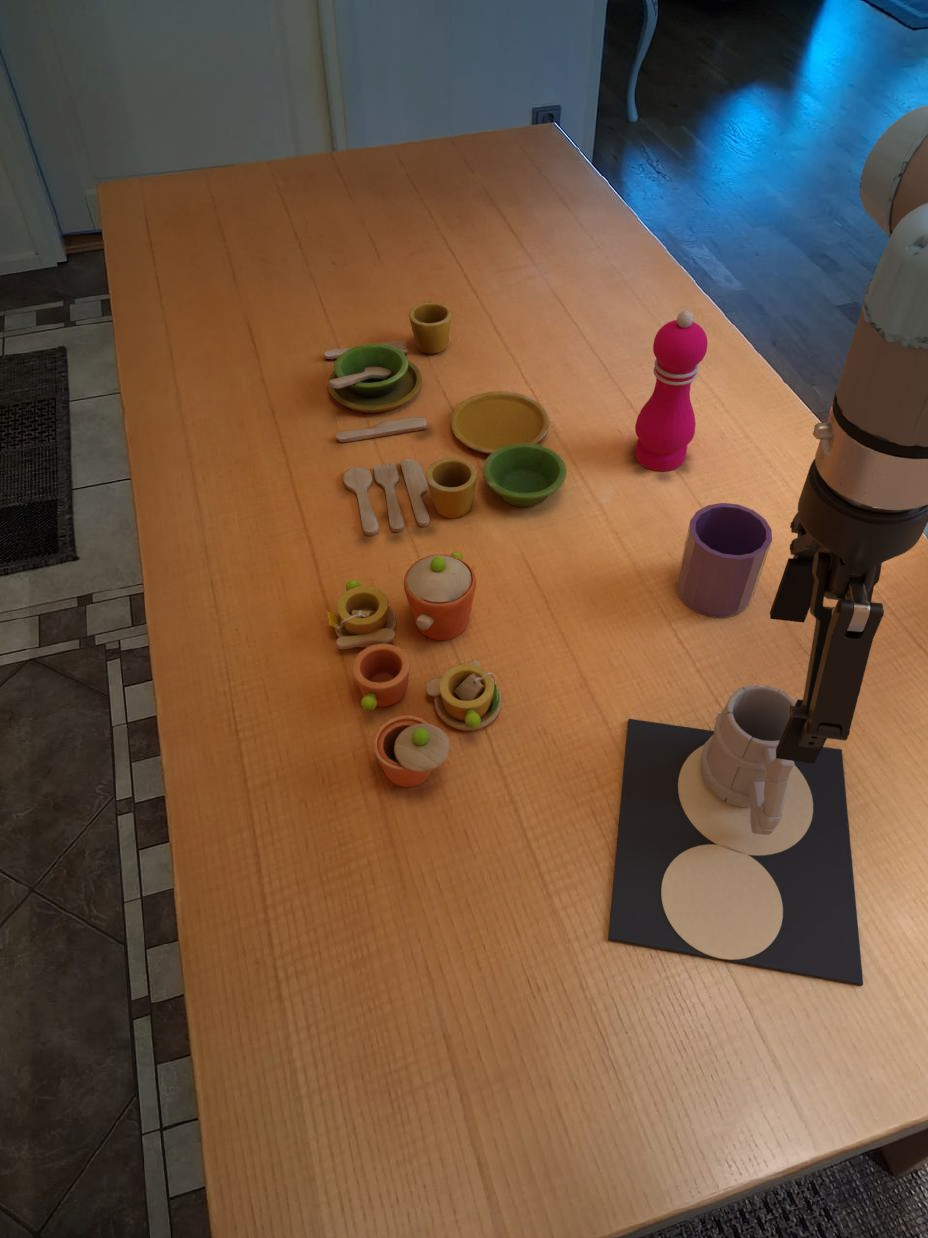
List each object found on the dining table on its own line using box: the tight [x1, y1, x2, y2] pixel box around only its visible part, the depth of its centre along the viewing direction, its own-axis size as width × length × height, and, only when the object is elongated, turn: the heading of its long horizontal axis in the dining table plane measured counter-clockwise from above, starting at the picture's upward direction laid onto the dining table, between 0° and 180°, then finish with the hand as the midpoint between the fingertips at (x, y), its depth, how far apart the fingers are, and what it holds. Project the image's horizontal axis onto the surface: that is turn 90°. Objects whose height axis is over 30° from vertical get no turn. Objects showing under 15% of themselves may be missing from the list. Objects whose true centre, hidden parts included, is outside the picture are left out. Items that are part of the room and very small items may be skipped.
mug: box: [701, 684, 796, 835], centre depth 77 cm, size 8×12×12 cm, turn 0°
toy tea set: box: [326, 551, 503, 788], centre depth 87 cm, size 26×16×10 cm, turn 16°
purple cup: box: [675, 502, 773, 618], centre depth 95 cm, size 8×8×9 cm
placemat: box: [607, 718, 864, 987], centre depth 79 cm, size 20×22×1 cm
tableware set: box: [322, 301, 567, 537], centre depth 116 cm, size 41×28×6 cm
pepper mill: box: [634, 310, 709, 472], centre depth 106 cm, size 7×7×20 cm
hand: (790, 683), depth 70 cm, fingers open, 13 cm apart
